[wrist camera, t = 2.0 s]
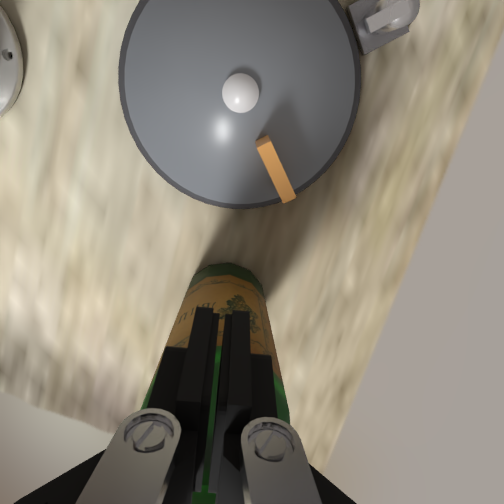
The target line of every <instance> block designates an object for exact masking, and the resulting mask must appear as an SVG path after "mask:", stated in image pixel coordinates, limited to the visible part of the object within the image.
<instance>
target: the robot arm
mask: <svg viewBox="0 0 504 504" xmlns="http://www.w3.org/2000/svg"><path fill="white" fill-rule="evenodd" d="M11 53H12V55H13V57H12V58H11V56H10V54H11ZM22 79H23V58H22V52H21V47H20V43H19V40H18V38H17V35H16V32H15V29H14V27H13V25H12V24H11V22H10V20H9V18H8V16H7V14H6V13H5V11H4V10H3V9H2V7H1V6H0V118H1V117H2V116H3V115H4V114H5V113H7V112H8V111H9V109H10V108H11V107H12V105H13V104H14V103H15V101H16V99H17V96H18V94H19V92H20V89H21V84H22ZM213 310H214V308H209V307H198V306H197V307H196V310H195V315H194V320H193V324H192V329H191V333H190V338H189V343H188V347H187V348H184V347H173V346H166V347H165V349H164V352H163V356H162V359H161V362H160V366H159V369H158V372H157V375H156V379H155V382H154V385H153V389H152V392H151V395H150V399H149V402H148V405H147V408H146V409H143V410H139V411H137V412H135V413H132V414H131V415H130V416H128V417H127V418H125V419H124V421H123V422H122V423H121V424H120V426H119V427H118V429H117V431H116V433H115V434H114V436H113V438H112V440H111V442H110V443H109V445H108V447H107V449H105V450H103V451H102V452H100V453H99V454H96V455H95V456H93V457H92V458H90V459H88V460H86V461H85V462H83V463H81V464H79V465H78V466H76V467H74V468H72V469H71V470H69V471H67V472H66V473H64V474H62V475H61V476H59V477H57V478H56V479H54V480H52V481H50V482H48V483H47V484H45V485H43V486H42V487H40V488H38V489H36V490H35V491H33V492H31V493H30V494H28V495H26V496H24V497H23V498H21V499H19V500H18V501H17V502H15V503H14V504H191V503H192V495H193V492H201V488H202V479H203V470H204V460H205V451H206V441H207V432H208V423H209V413H210V404H211V394H212V385H213V375H214V365H215V356H216V346H217V336H218V327H219V317H220V313H213ZM208 493H216V500H215V504H356V503H355V502H354V501H353V500H351V499H350V498H349V497H348V496H346V495H345V494H344V493H343V492H342V491H341V490H340V489H338V488H337V487H336V486H335V485H334V484H332V483H331V482H330V481H329V480H328V479H327V478H325V477H324V476H323V475H322V474H321V473H319V472H318V471H317V470H316V469H315V468H314V467H312V466H311V465H310V464H309V463H308V460H307V457H306V454H305V451H304V448H303V445H302V442H301V439H300V437H299V435H298V433H297V432H296V431H295V429H294V428H293V427H292V426H291V425H289V424H288V423H286V422H284V421H283V420H280V419H278V415H277V405H276V395H275V385H274V376H273V366H272V357H271V355H265V354H253V353H251V346H250V312H249V311H240V310H232V314H225V321H224V331H223V340H222V349H221V358H220V367H219V376H218V386H217V396H216V407H215V419H214V430H213V441H212V452H211V463H210V475H209V486H208Z"/></svg>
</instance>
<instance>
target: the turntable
mask: <svg viewBox="0 0 504 504" xmlns="http://www.w3.org/2000/svg"><path fill="white" fill-rule="evenodd" d="M354 90H355V69H354V62H353V55H352V50H351V47H350V43H349V39H348V36H347V33H346V31H345V29H344V26H343V24H342V22H341V20H340V18H339V16H338V14H337V13H336V11H335V9H334V7H333V6H332V4H331V3H330V2H329V1H328V0H149V1H148V3H147V4H146V6H145V7H144V9H143V11H142V13H141V14H140V16H139V18H138V20H137V22H136V24H135V27H134V29H133V32H132V34H131V38H130V41H129V45H128V49H127V54H126V62H125V93H126V102H127V106H128V110H129V114H130V118H131V121H132V123H133V126H134V129H135V131H136V133H137V135H138V137H139V139H140V141H141V143H142V145H143V147H144V148H145V150H146V151H147V153H148V154H149V156H150V157H151V158H152V160H153V161H154V162H155V163H156V164H157V165H158V167H159V168H160V169H161V170H162V171H163V172H164V173H165V174H166V175H168V176H169V177H170V178H171V179H172V180H173V181H175V182H176V183H178V184H179V185H180V186H182V187H183V188H185V189H187V190H189V191H191V192H193V193H194V194H197V195H199V196H202V197H204V198H207V199H210V200H214V201H218V202H223V203H231V204H252V203H259V202H264V201H268V200H272V199H275V198H278V197H280V198H281V200H282V202H283V204H284V203H286V202H288V201H290V200H293V199H295V198H297V197H296V195H295V193H294V191H293V190H295V189H296V188H298V187H300V186H301V185H303V184H304V183H305V182H307V181H308V180H309V179H311V178H312V177H313V176H314V175H315V174H316V173H317V172H318V171H319V170H320V169H321V168H322V167H323V166H324V165H325V163H326V162H327V161H328V160H329V159H330V157H331V156H332V154H333V153H334V151H335V150H336V148H337V146H338V145H339V143H340V141H341V139H342V137H343V135H344V132H345V130H346V127H347V124H348V121H349V118H350V115H351V110H352V106H353V100H354Z"/></svg>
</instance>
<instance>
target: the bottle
mask: <svg viewBox="0 0 504 504" xmlns="http://www.w3.org/2000/svg"><path fill="white" fill-rule="evenodd" d="M197 306H198V307H209V308H214V310H213V313H220V317H219V327H218V336H217V346H216V356H215V365H214V375H213V385H212V394H211V404H210V413H209V423H208V432H207V441H206V451H205V460H204V470H203V479H202V488H201V492H193V495H192V503H191V504H215V500H216V493H208V486H209V475H210V463H211V452H212V441H213V430H214V419H215V407H216V396H217V386H218V376H219V367H220V358H221V349H222V340H223V331H224V321H225V314H232V310H240V311H249V312H250V346H251V353H253V354H265V355H271V357H272V366H273V376H274V385H275V395H276V405H277V415H278V419H280V420H283V421H284V422H286V423H288V424H289V425H290V416H289V408H288V404H287V399H286V395H285V390H284V385H283V381H282V376H281V372H280V367H279V362H278V358H277V353H276V349H275V344H274V340H273V335H272V330H271V326H270V321H269V317H268V312H267V307H266V303H265V298H264V294H263V289H262V285H261V284H260V283H259V281H258V280H257V279H256V278H255V276H254V275H253V274H252V273H251V271H250V270H247V269H245V268H242V267H240V266H237V265H235V264H232V263H225V264H215V265H209V266H208V267H206V268H205V269H203V270H202V271H200V272H199V273H197V274H196V275H194V276H193V278H192V281H191V283H190V285H189V288H188V290H187V292H186V295H185V297H184V300H183V302H182V305H181V307H180V310H179V312H178V315H177V318H176V320H175V323H174V325H173V328H172V330H171V333H170V335H169V338H168V341H167V343H166V346H173V347H184V348H187V347H188V343H189V338H190V333H191V329H192V324H193V320H194V315H195V310H196V307H197ZM166 346H165V347H166ZM164 349H165V348H164ZM163 352H164V351H163ZM162 356H163V353H162ZM162 356H161V358H160V361H159V364H158V366H157V369H156V371H155V374H154V376H153V379H152V382H151V384H150V387H149V389H148V392H147V394H146V397H145V399H144V402H143V405H142V407H141V410H143V409H146V408H147V405H148V402H149V399H150V395H151V392H152V389H153V385H154V382H155V379H156V375H157V372H158V369H159V366H160V362H161V359H162Z"/></svg>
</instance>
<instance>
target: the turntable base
mask: <svg viewBox="0 0 504 504" xmlns="http://www.w3.org/2000/svg"><path fill="white" fill-rule="evenodd" d="M148 1H149V0H140V1H139V3H138V5H137V7H136V8H135V10H134V12H133V14H132V16H131V18H130V21H129V23H128V26H127V28H126V31H125V34H124V38H123V42H122V46H121V51H120V59H119V92H120V101H121V105H122V109H123V113H124V117H125V120H126V123H127V125H128V128H129V131H130V133H131V135H132V137H133V139H134V141H135V143H136V145H137V147H138V149H139V150H140V152H141V153H142V154H143V156H144V157H145V159H146V160H147V162H148V163H149V164H150V165H151V166H152V167H153V169H154V170H155V171H156V172H157V173H158V174H159V175H160V176H161V177H162V178H164V179H165V180H166V181H167V182H168V183H169V184H171V185H172V186H173V187H175V188H176V189H178V190H179V191H181V192H182V193H184V194H186V195H188V196H190V197H192V198H194V199H196V200H199V201H201V202H204V203H207V204H210V205H214V206H218V207H224V208H232V209H250V208H258V207H264V206H268V205H272V204H275V203H278V202H281V201H282V200H281V198H280V197H278V198H275V199H272V200H268V201H264V202H259V203H252V204H231V203H223V202H218V201H214V200H210V199H207V198H204V197H202V196H199V195H197V194H194V193H193V192H191V191H189V190H187V189H185V188H183V187H182V186H180V185H179V184H178V183H176V182H175V181H173V180H172V179H171V178H170V177H169V176H168V175H166V174H165V173H164V172H163V171H162V170H161V169H160V168H159V167H158V165H157V164H156V163H155V162H154V161H153V160H152V158H151V157H150V156H149V154H148V153H147V151H146V150H145V148H144V147H143V145H142V143H141V141H140V139H139V137H138V135H137V133H136V131H135V129H134V126H133V123H132V121H131V118H130V114H129V110H128V106H127V102H126V93H125V62H126V54H127V49H128V45H129V41H130V38H131V34H132V32H133V29H134V27H135V24H136V22H137V20H138V18H139V16H140V14H141V13H142V11H143V9H144V7H145V6H146V4H147V3H148ZM328 1H329V2H330V3H331V4H332V6H333V7H334V9H335V11H336V13H337V14H338V16H339V18H340V20H341V22H342V24H343V26H344V29H345V31H346V33H347V36H348V39H349V43H350V47H351V50H352V55H353V62H354V69H355V90H354V100H353V106H352V110H351V115H350V118H349V121H348V124H347V127H346V130H345V132H344V135H343V137H342V139H341V141H340V143H339V145H338V146H337V148H336V150H335V151H334V153H333V154H332V156H331V157H330V159H329V160H328V161H327V162H326V163H325V165H324V166H323V167H322V168H321V169H320V170H319V171H318V172H317V173H316V174H315V175H314V176H313V177H312V178H311V179H309V180H308V181H307V182H305V183H304V184H303V185H301V186H300V187H298V188H296V189H295V190H293V191H294V193H295V195H296V194H298V193H299V192H301V191H303V190H304V189H305V188H307V187H308V186H310V185H311V184H312V183H314V182H315V181H316V180H317V179H318V178H319V177H320V176H321V175H322V174H323V173H324V172H325V171H326V170H327V169H328V168H329V167H330V165H331V164H332V163H333V162H334V161H335V159H336V158H337V156H338V154H339V153H340V151H341V150H342V148H343V147H344V145H345V143H346V140H347V138H348V136H349V134H350V132H351V129H352V126H353V124H354V121H355V118H356V114H357V109H358V105H359V98H360V89H361V67H360V60H359V52H358V48H357V44H356V40H355V36H354V33H353V30H352V28H351V25H350V23H349V21H348V18H347V16H346V14H345V12H344V11H343V9H342V7H341V5H340V4H339V2H338V0H328Z"/></svg>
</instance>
